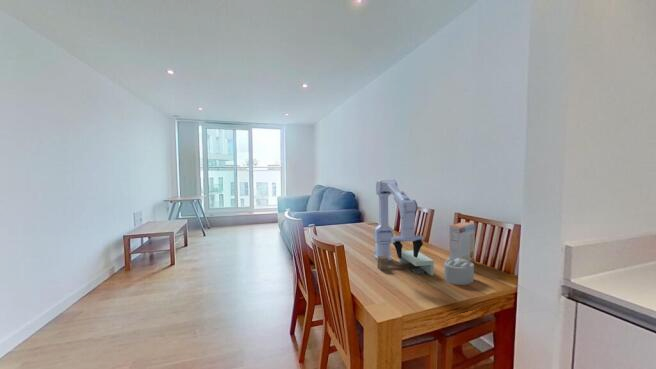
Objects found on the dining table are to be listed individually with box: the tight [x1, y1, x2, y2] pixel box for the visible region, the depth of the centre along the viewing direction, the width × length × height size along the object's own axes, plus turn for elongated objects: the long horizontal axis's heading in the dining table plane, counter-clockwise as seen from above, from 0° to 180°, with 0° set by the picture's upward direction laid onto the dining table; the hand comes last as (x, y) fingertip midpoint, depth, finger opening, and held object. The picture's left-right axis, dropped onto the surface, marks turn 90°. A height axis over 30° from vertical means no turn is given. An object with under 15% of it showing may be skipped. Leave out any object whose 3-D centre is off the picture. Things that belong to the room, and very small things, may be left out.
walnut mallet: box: [377, 256, 418, 272], centre depth 130 cm, size 4×20×6 cm, turn 100°
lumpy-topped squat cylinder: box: [443, 257, 475, 286], centre depth 116 cm, size 10×13×9 cm
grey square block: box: [411, 267, 425, 275], centre depth 124 cm, size 4×4×2 cm
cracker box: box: [449, 221, 476, 264], centre depth 135 cm, size 14×6×21 cm, turn 122°
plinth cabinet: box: [399, 249, 435, 276], centre depth 127 cm, size 16×9×7 cm, turn 10°
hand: (407, 257), depth 116 cm, fingers open, 7 cm apart
